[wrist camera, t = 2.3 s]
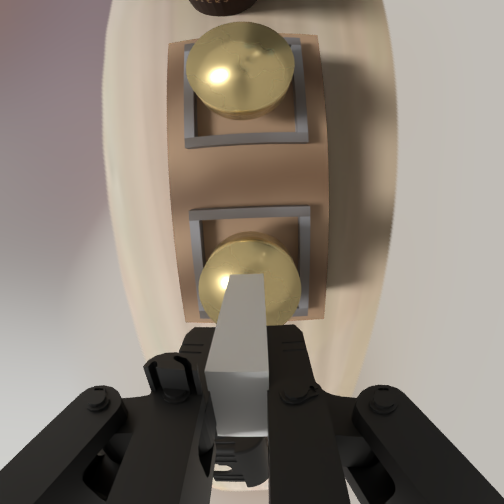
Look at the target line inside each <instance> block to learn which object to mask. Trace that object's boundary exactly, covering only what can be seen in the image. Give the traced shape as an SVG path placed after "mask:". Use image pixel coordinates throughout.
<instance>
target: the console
mask: <svg viewBox="0 0 504 504" xmlns="http://www.w3.org/2000/svg"><path fill="white" fill-rule="evenodd" d="M278 34H280V35H281V36H282V37H283V38H284V39H285V40H286V42H287V43H288V44H289V46H290V48H291V50H292V53H293V56H294V64H295V67H294V73H293V76H292V79H291V82H290V85H289V88H288V90H287V93H286V95H285V97H284V99H283V100H282V102H281V103H280V104H279V105H278V106H277V107H276V108H275V109H274V110H273V111H271V112H269V113H268V114H266V115H264V116H262V117H259V118H256V119H251V120H231V119H227V118H224V117H221V116H219V115H217V114H215V113H214V112H212V111H211V110H210V109H209V108H207V107H206V105H205V104H204V103H203V102H202V101H201V99H200V98H199V97H198V95H197V94H196V93H195V92H194V90H193V89H192V87H191V86H190V84H189V81H188V79H187V75H186V62H187V58H188V55H189V52H190V50H191V49H192V47H193V45H194V44H195V43H196V42H197V40H198V39H192V40H186V41H180V42H175V43H170V44H169V47H168V68H167V143H168V167H169V184H170V198H171V211H172V222H173V232H174V242H175V251H176V259H177V267H178V275H179V282H180V289H181V296H182V302H183V309H184V315H185V321H186V322H197V323H215V322H214V321H212V319H211V318H210V317H209V316H208V315H207V313H206V312H205V310H204V308H203V306H202V304H201V301H200V297H199V279H200V275H201V273H202V270H203V268H204V266H205V265H206V263H207V261H208V259H209V258H210V256H211V254H212V252H213V251H214V249H215V248H216V247H217V245H219V244H220V243H221V242H222V241H223V240H224V239H226V238H228V237H229V236H231V235H234V234H236V233H240V232H247V231H255V232H261V233H265V234H268V235H270V236H272V237H274V238H275V239H277V240H278V241H280V242H281V243H282V244H283V245H284V246H285V247H286V248H287V250H288V251H289V253H290V255H291V257H292V259H293V261H294V264H295V267H296V269H297V272H298V274H299V277H300V282H301V297H300V301H299V304H298V307H297V309H296V311H295V313H294V314H293V315H292V317H291V318H290V319H289V320H288V321H296V320H313V319H324V312H325V298H326V283H327V264H328V236H329V170H328V143H327V124H326V110H325V97H324V86H323V76H322V67H321V59H320V51H319V43H318V36H317V35H306V34H284V33H278Z"/></svg>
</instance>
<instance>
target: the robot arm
mask: <svg viewBox="0 0 504 504" xmlns="http://www.w3.org/2000/svg"><path fill="white" fill-rule="evenodd" d="M143 367H144V371H145V374H146V377H147V380H148V383H149V385H150V388H151V394H150V395H147V396H142V397H133V398H121V396H120V394H119V392H118V391H117V390H115V389H114V388H113V387H109V386H104V385H103V386H94V387H91V388H88V389H87V390H85V391H84V392H82V393H81V394H80V395H79V396H78V397H77V398H76V399H75V400H74V401H73V402H71V403H70V404H69V405H68V406H67V407H66V408H65V409H64V410H63V411H62V412H61V413H60V414H59V415H58V416H57V417H56V418H55V419H53V420H52V421H51V422H50V423H49V424H48V425H47V426H46V427H45V428H44V429H43V430H42V431H41V432H40V433H39V434H38V435H37V436H36V437H35V438H33V439H32V440H31V441H30V442H29V443H28V444H27V445H26V446H25V447H24V448H23V449H22V450H21V451H20V452H19V453H18V454H17V455H16V456H15V457H14V458H13V459H12V460H11V461H10V462H9V463H8V464H7V465H6V466H5V467H4V468H3V469H2V470H1V471H0V504H209V503H210V495H211V488H212V480H213V473H214V465H215V458H216V444H215V441H214V439H215V432H216V430H217V434H218V436H233V437H263V436H268V477H269V504H350V499H349V494H348V490H347V485H346V481H345V478H346V480H347V482H348V483H349V485H350V486H351V488H352V490H353V492H354V493H355V495H356V497H357V499H358V500H359V502H360V503H361V504H504V498H503V497H502V496H501V495H500V494H499V493H498V491H496V489H495V488H494V487H493V486H492V485H491V484H490V483H489V482H488V481H487V480H486V479H485V477H484V476H483V475H482V474H481V473H480V472H479V471H478V470H477V469H476V468H475V467H474V466H473V465H472V464H471V463H470V462H469V460H468V459H467V458H466V457H465V456H464V455H463V454H462V453H461V452H460V451H459V450H458V449H457V448H456V447H455V446H454V445H453V444H452V443H451V442H450V440H448V438H447V437H446V436H445V435H444V434H443V433H442V432H441V431H440V430H439V429H438V428H437V427H436V426H435V425H434V424H433V423H432V422H431V421H430V420H429V419H428V417H427V416H426V415H425V414H424V413H423V412H422V411H421V410H420V409H419V408H418V407H417V406H416V405H415V404H414V403H413V402H412V401H411V400H410V399H409V398H408V397H407V396H406V395H405V394H404V393H403V392H402V391H400V390H399V389H397V388H395V387H391V386H389V385H375V386H371V387H368V388H367V389H365V390H363V391H362V392H361V393H360V394H359V396H358V397H357V398H351V397H341V396H336V395H332V394H329V393H327V392H325V391H324V390H322V388H321V387H320V385H319V384H317V383H316V382H315V379H314V376H313V372H312V368H311V364H310V360H309V356H308V352H307V348H306V345H305V341H304V337H303V333H302V331H301V330H300V329H299V328H298V327H296V326H295V325H294V324H292V325H270V326H266V309H265V292H264V275H263V274H233V275H230V276H229V279H228V283H227V287H226V290H225V294H224V298H223V302H222V305H221V309H220V313H219V317H218V321H217V324H216V327H194V328H193V329H192V330H191V331H190V332H189V333H187V334H186V336H185V338H184V340H183V343H182V345H181V348H180V350H179V353H177V352H174V353H164V354H161V355H157V356H155V357H153V358H152V359H150V360H148V361H147V363H146V364H145V365H144V366H143Z"/></svg>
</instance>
